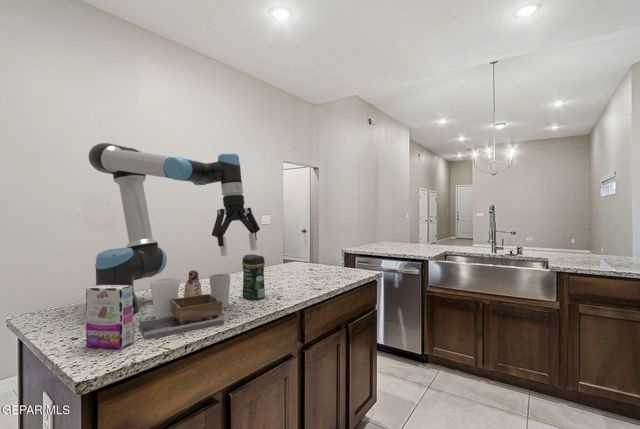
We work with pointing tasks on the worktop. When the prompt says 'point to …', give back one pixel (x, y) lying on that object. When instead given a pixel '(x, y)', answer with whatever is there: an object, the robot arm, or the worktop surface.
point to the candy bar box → (109, 316)
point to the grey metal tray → (175, 326)
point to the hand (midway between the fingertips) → (239, 252)
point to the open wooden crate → (195, 307)
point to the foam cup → (164, 295)
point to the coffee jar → (253, 277)
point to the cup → (220, 287)
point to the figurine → (192, 285)
